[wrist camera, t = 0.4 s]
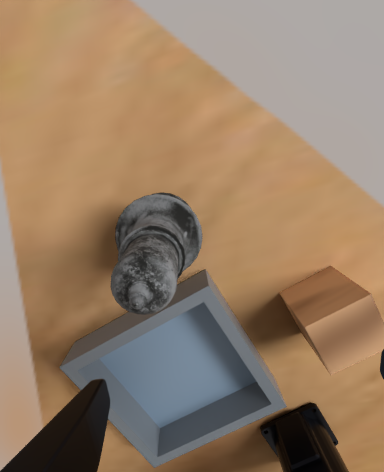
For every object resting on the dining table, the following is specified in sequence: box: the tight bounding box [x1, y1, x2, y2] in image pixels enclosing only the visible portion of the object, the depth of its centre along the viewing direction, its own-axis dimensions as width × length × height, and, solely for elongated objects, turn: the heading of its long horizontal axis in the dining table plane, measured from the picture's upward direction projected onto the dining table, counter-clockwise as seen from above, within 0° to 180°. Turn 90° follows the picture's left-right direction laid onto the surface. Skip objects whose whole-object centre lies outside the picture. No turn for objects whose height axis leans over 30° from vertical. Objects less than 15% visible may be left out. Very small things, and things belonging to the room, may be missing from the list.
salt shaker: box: [111, 193, 202, 315], centre depth 15 cm, size 6×6×12 cm
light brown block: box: [280, 266, 384, 375], centre depth 20 cm, size 5×5×5 cm
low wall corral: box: [59, 269, 287, 468], centre depth 23 cm, size 14×14×3 cm
